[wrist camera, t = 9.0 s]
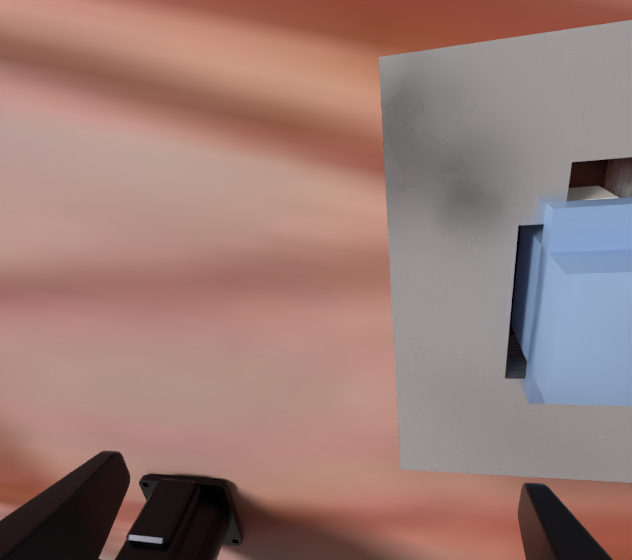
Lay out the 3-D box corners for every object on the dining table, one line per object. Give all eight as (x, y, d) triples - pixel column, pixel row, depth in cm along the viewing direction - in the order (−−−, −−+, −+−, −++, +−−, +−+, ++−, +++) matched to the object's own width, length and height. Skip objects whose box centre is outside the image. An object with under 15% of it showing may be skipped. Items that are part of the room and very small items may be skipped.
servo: (594, 353, 19) (655, 440, 14) (508, 353, 19) (541, 435, 15) (630, 175, 15) (725, 217, 11) (524, 183, 16) (572, 225, 12)
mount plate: (692, 430, 20) (739, 489, 17) (400, 420, 23) (400, 469, 20) (849, -9, 13) (981, -32, 10) (382, 59, 15) (378, 57, 13)
